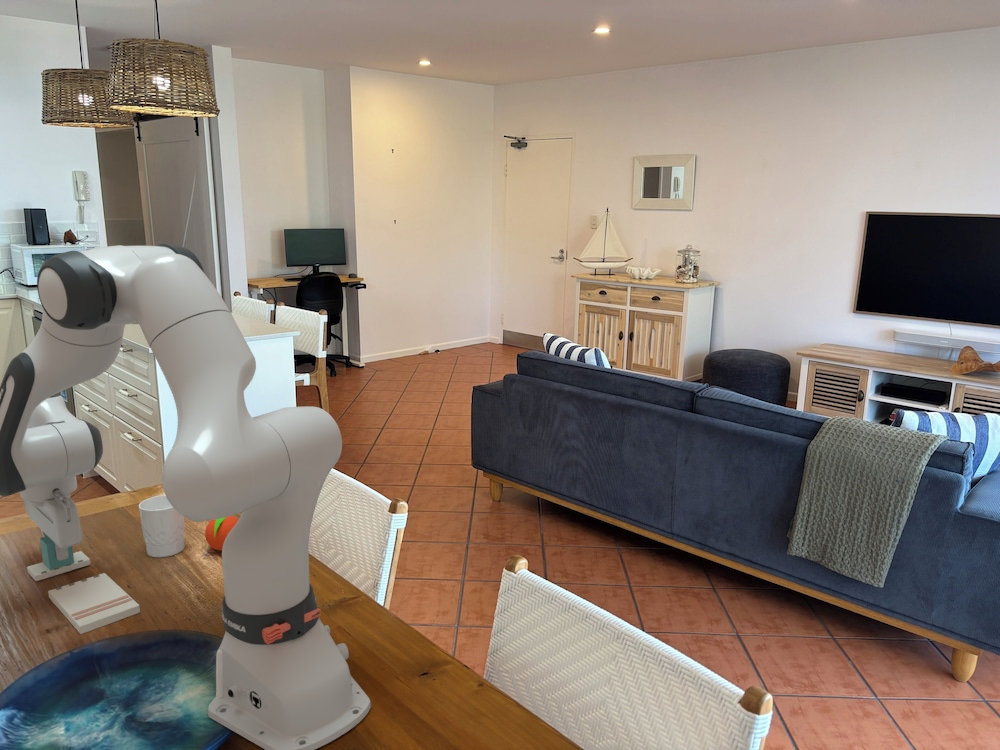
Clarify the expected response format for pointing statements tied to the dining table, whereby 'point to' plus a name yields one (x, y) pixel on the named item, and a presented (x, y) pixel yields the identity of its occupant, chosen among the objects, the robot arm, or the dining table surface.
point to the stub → (56, 561)
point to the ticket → (93, 602)
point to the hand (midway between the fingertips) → (57, 553)
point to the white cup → (161, 527)
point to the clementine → (219, 531)
